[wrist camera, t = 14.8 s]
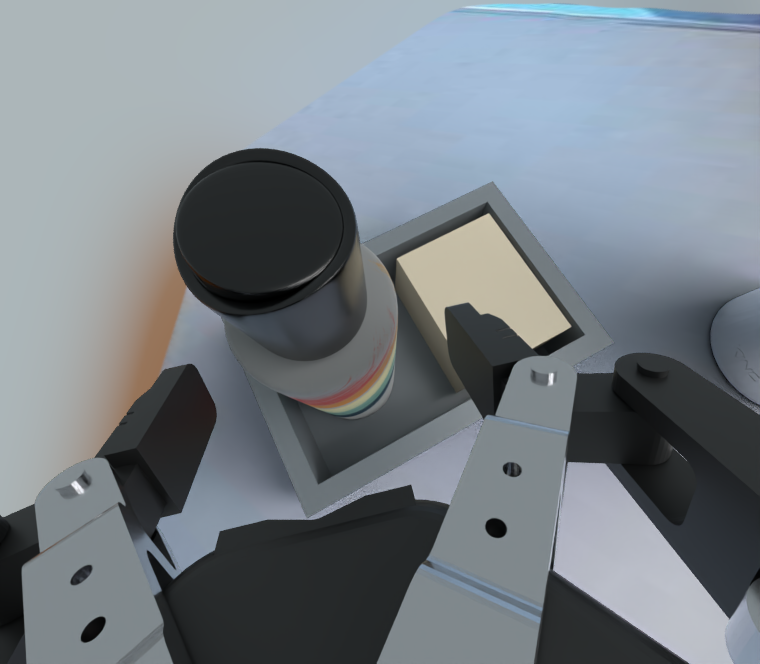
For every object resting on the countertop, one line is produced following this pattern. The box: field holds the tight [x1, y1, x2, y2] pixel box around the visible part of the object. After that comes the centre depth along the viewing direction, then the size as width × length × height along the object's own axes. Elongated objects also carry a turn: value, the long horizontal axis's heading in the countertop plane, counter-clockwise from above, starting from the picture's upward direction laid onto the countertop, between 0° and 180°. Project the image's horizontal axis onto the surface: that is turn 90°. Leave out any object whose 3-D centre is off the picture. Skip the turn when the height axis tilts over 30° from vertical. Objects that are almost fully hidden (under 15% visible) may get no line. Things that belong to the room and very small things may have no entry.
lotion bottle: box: [173, 148, 398, 420], centre depth 16 cm, size 6×6×20 cm
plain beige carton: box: [395, 213, 572, 393], centre depth 25 cm, size 7×9×5 cm
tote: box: [221, 181, 614, 518], centre depth 25 cm, size 20×13×6 cm, turn 118°
